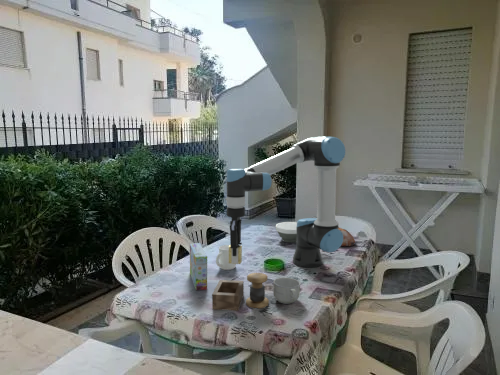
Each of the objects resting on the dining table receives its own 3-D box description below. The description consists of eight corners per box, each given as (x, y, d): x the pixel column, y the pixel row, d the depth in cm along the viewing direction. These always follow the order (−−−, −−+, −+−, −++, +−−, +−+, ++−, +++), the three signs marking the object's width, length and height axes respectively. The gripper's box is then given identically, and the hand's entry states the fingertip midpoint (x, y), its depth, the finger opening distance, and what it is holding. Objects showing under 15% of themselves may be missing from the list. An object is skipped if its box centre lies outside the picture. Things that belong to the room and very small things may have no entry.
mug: (222, 273, 175) (222, 253, 173) (210, 269, 180) (210, 249, 179) (239, 266, 184) (239, 247, 182) (227, 263, 189) (227, 243, 188)
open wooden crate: (243, 294, 152) (243, 280, 151) (238, 310, 138) (238, 295, 137) (220, 293, 153) (219, 279, 152) (212, 309, 139) (212, 294, 138)
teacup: (271, 295, 151) (271, 276, 150) (297, 294, 152) (297, 275, 151) (276, 311, 138) (276, 291, 136) (305, 310, 138) (305, 290, 137)
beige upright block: (241, 261, 155) (241, 241, 153) (240, 264, 152) (240, 243, 150) (230, 260, 155) (230, 240, 154) (228, 263, 152) (228, 242, 151)
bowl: (309, 245, 219) (309, 229, 218) (276, 245, 219) (276, 229, 218) (304, 236, 238) (304, 221, 237) (274, 236, 239) (274, 221, 237)
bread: (328, 239, 235) (328, 224, 234) (358, 243, 224) (359, 227, 223) (318, 244, 221) (319, 227, 220) (350, 249, 211) (351, 232, 210)
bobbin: (269, 298, 148) (269, 272, 146) (267, 309, 139) (267, 281, 137) (247, 297, 149) (247, 271, 147) (244, 307, 140) (244, 280, 139)
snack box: (208, 289, 157) (207, 256, 155) (195, 291, 155) (194, 257, 153) (201, 272, 177) (200, 242, 175) (189, 273, 176) (188, 243, 173)
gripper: (230, 202, 159) (230, 254, 162) (222, 210, 143) (222, 267, 146) (247, 203, 157) (247, 255, 161) (241, 210, 142) (241, 268, 145)
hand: (235, 261), depth 153 cm, fingers closed on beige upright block, 3 cm apart
